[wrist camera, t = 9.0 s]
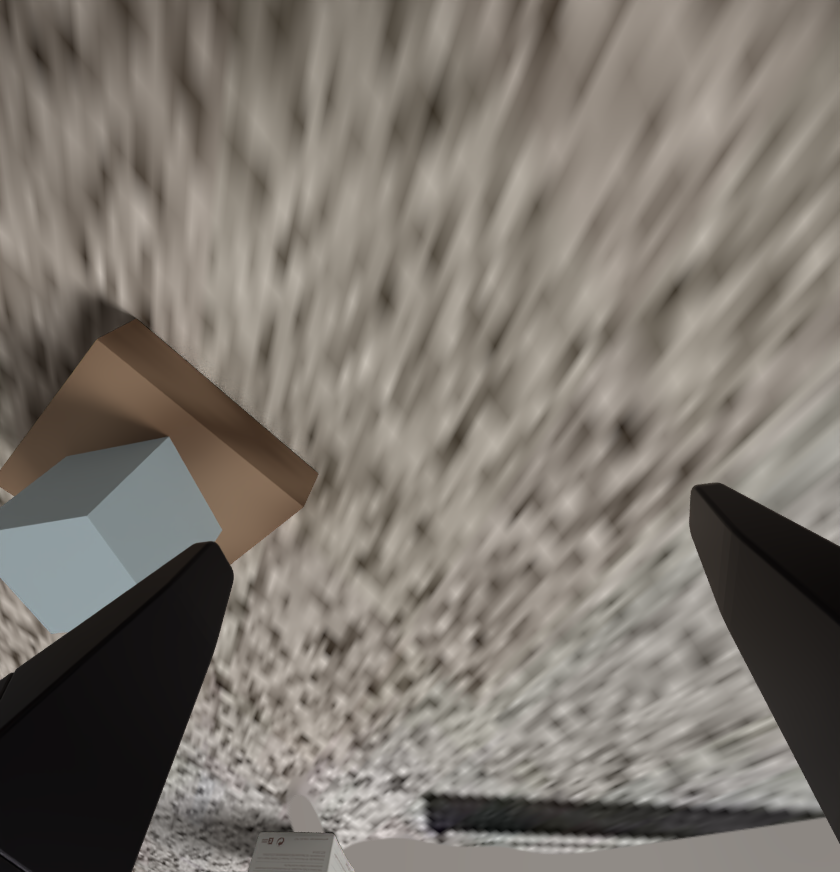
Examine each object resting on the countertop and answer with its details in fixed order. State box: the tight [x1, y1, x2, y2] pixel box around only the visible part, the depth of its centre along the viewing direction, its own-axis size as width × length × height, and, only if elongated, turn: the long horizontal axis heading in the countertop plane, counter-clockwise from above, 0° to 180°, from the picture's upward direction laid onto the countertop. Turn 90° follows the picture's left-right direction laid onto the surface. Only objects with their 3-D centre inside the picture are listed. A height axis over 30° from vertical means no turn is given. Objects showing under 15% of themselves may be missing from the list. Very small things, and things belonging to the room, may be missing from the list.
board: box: [0, 319, 318, 564], centre depth 23 cm, size 10×10×2 cm
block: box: [0, 437, 222, 634], centre depth 19 cm, size 5×5×5 cm
